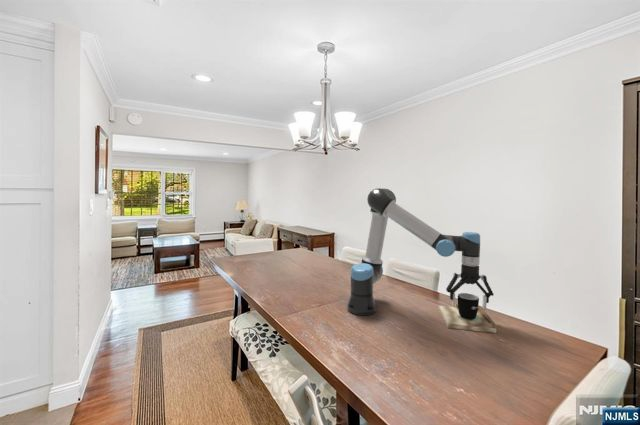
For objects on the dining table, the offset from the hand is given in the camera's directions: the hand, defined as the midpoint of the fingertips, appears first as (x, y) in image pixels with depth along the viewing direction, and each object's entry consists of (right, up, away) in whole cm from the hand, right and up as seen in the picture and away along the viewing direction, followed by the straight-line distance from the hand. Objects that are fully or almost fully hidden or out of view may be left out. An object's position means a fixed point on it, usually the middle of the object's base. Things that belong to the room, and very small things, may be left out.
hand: (468, 307), depth 131 cm
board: (-1, -6, +1) cm, 6 cm away
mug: (0, -4, 0) cm, 4 cm away
